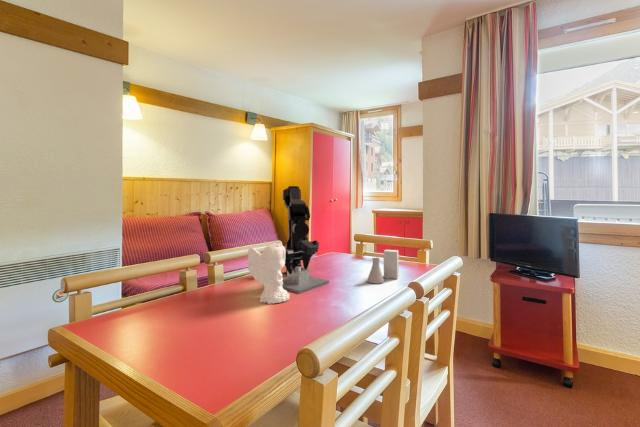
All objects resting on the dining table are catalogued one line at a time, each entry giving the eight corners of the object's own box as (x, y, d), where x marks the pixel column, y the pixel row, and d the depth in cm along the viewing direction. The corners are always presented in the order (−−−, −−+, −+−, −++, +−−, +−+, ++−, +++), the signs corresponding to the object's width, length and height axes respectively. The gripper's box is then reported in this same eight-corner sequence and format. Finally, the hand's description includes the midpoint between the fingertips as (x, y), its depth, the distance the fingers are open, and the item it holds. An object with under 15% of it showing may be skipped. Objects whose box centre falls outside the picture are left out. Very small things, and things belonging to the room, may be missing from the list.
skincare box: (398, 277, 148) (399, 250, 147) (397, 279, 144) (397, 251, 143) (384, 275, 151) (385, 248, 150) (382, 278, 147) (383, 250, 146)
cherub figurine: (264, 307, 110) (264, 247, 108) (246, 298, 119) (245, 242, 118) (296, 299, 119) (296, 243, 117) (277, 290, 128) (276, 238, 126)
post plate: (266, 284, 136) (266, 267, 135) (296, 275, 150) (296, 260, 149) (299, 293, 125) (299, 275, 124) (328, 282, 139) (329, 266, 138)
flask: (383, 279, 144) (384, 256, 143) (384, 284, 137) (385, 260, 136) (366, 279, 145) (367, 256, 144) (367, 283, 138) (367, 259, 137)
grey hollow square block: (287, 281, 137) (287, 269, 136) (297, 278, 142) (297, 266, 141) (298, 284, 133) (298, 272, 132) (309, 281, 138) (309, 269, 137)
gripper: (297, 238, 124) (297, 280, 125) (327, 233, 138) (327, 270, 139) (276, 235, 130) (276, 275, 132) (307, 230, 145) (307, 266, 146)
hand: (298, 271), depth 137 cm, fingers open, 9 cm apart
